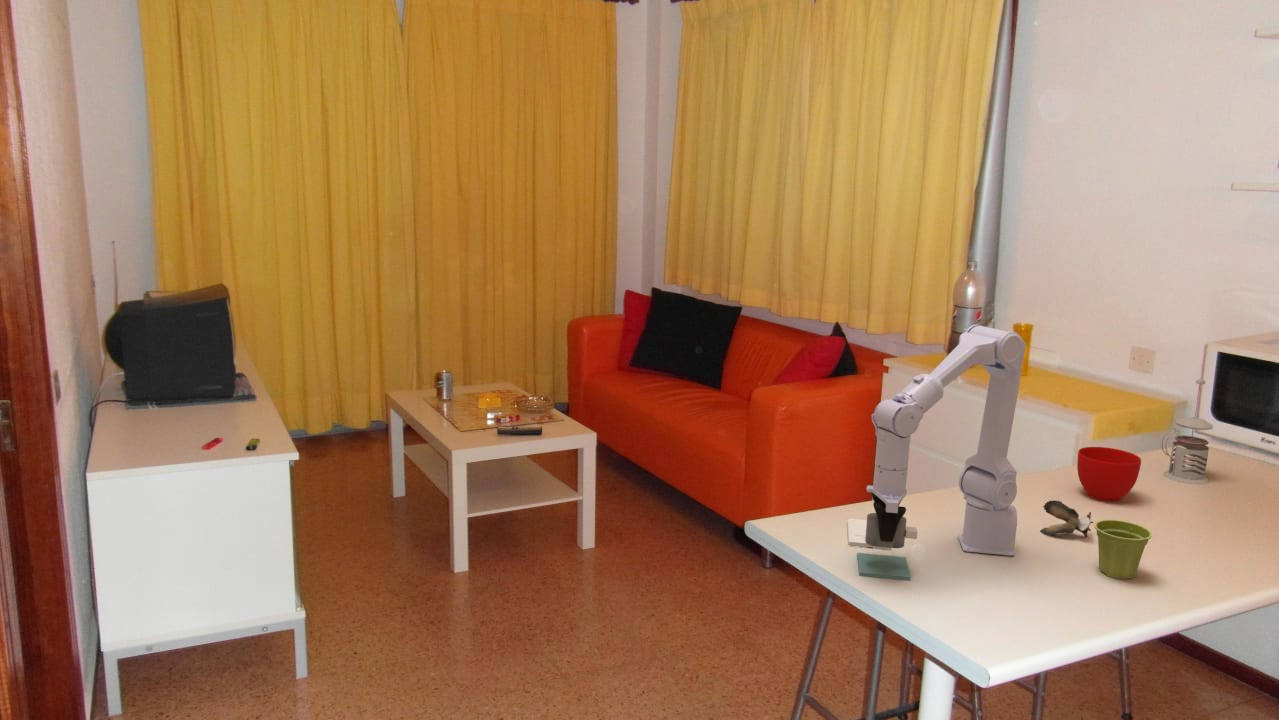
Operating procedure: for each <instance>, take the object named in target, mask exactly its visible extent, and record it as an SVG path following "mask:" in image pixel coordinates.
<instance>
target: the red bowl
mask: <svg viewBox="0 0 1279 720" xmlns="http://www.w3.org/2000/svg"><path fill="white" fill-rule="evenodd" d="M1076 464H1077V467H1076V468H1077V475H1078V479H1079V482H1080V485H1081V486H1082V487H1083V489H1084V490H1085V492H1086V493H1087V495H1088V497H1091V498H1093V499H1095V500H1098V501H1101V502H1102V501H1103V502H1118V501H1120V500H1121V499H1122V498H1123V497H1125V496H1127V494H1128V493H1130V491H1131V490H1133V488H1134V486H1135V485H1136V483H1137V479H1138V478H1139V474H1140V470H1141V465H1142V459H1141V457H1140V456H1138V455H1137V454H1134V453H1132V452H1130V451H1125V450H1122V449H1117V448H1112V447H1105V446H1085V447H1082V448H1080V449H1079V450H1078V452H1077V463H1076Z"/></svg>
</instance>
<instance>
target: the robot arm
mask: <svg viewBox="0 0 1279 720" xmlns="http://www.w3.org/2000/svg"><path fill="white" fill-rule="evenodd" d="M1026 345H1027V343H1026V342H1025V341H1024V339H1023V338H1022V337H1021V336H1020V334H1019V333H1018V332H1016V331H1008V330H1007V331H1006V330H1002V329H998V328H993V327H988V326H983V325H981V324H972V325H971V326H969V327H968V328H966V329H965V331H964V332H963V333H961V334H960V335H959V337H958V344H957V346H955V348H953V349H952V351H951V352H950V353H949V354H948V355H947V356H946V357H945V358H944V359H943V360H942V361H941V362H940V363H939V364H938V365H937V366H936V367H935V368H934V369H933V370H932V371H931V372H930V373H929V374H928V373H920V374H917V375H915V376H914V377H913V378H912V381H910V383H909V384H907V385H906V386H905V387H904V388H903V389H902V390H900V391H899V392H898V393H896V395H894V396H893V397H892V399H891V398H888V399H884V400H882V401H881V402H879V403H878V404H877V405H876V407H874V408H875V409H874V412H873V413H872V414H871V421H872V423H873V424H872V425H873V426H874V427H875V433H874V434H875V436H876V437H875V438H877V439H876V449H875V452H876V453H875V461H874V462H875V463H874V475H873V485H870V484H869V485H867V486H866V492H867V493H870V494H871V498H872V500H873V505H872V506H873V509H874V511H875V512H874V513H876V514H877V517H878V522H879V535H880V540H881V541H885V542H892V541H893V539H894V536H895V533H896V529H897V526H898V524H899V522H900V520H901V518H902V517H904V515H905V514H906V512H907V507H906V506H900V504H901V502H902V501H903V500H904V498H905V497H906V496H907V493H908V492H907V491H908V490H907V477H908V466H909V457H910V456H909V454H910V445H911V444H910V443H911V435H913V434H915V433H916V431H917V430H918V428H919V426H920V422H921V420H922V419H923V417H924V415H925V414H926V412H928V411H929V410H930V409H931V408H932V407H933V406H935V405H936V404H937V403H938V402H939V401H940V400H941V399H942V398H943V396H944V388H946V386H948V385H949V384H950V383H952V382H953V381H954V380H956V379H957V378H958V377H959V376H961V375H962V374H964V373H965V372H966V371H968V370H970V368H971V367H973V366H976V365H977V366H983V368H984V369H985V371H986V372H987V373H988V374H989V380H988V387H987V393H986V398H985V405H984V409H983V410H984V411H983V416H982V421H981V422H982V423H981V427H980V428H981V429H980V433H979V438H978V439H979V440H978V446H977V452H976V453H975V454H973V455H971V456H969V457H967V458H966V460H965V464H964V467H963V469H962V471H961V473H960V476H959V479H958V487H959V489H960V492H961V493H963V500H965V501H966V502H965V508H964V509H965V510H964V521H963V523H964V524H963V531H962V534H961V533H959V534H957V538H958V540H959V541H958V542H959V543H960V546H961V548H962V551H963V552H967V553H968V552H969V553H978V554H979V553H980V554H991V555H992V554H993V555H1000V556H1001V555H1002V556H1012V557H1013V556H1015V544H1016V535H1017V526H1018V514H1017V513H1018V511H1017V508H1016V506H1014V505H1012V504H1013V503H1014V501H1015V499H1016V497H1017V493H1018V486H1017V480H1016V479H1017V474H1018V473H1017V470H1016V468H1015V467H1014V466H1013V465H1012V463H1011V462H1010V460H1009V459H1008V451H1009V446H1010V441H1011V434H1012V429H1013V422H1014V418H1015V412H1016V407H1017V400H1018V394H1019V389H1020V382H1021V378H1022V373H1023V372H1022V371H1023V364H1024V358H1025V352H1026Z"/></svg>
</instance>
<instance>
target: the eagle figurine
mask: <svg viewBox="0 0 1279 720" xmlns="http://www.w3.org/2000/svg"><path fill="white" fill-rule="evenodd" d="M1042 507H1043V510H1045V513H1047V514H1049V515H1051V516H1053V517H1054V518H1056V519H1058V520H1061V521H1064V522H1066V523H1059V524H1053V525H1050V526H1048V527H1044V528H1041V529H1040V530H1039V533H1041V534H1043V535H1046V536H1055V535H1059V534H1067V535H1069V534H1073V533H1074V532H1075V531H1078V532H1080V533H1082V535H1083V536H1084V538H1085V539H1088V532H1089V531H1092V530H1091V528H1090V526H1091V525H1090V524H1092V523H1094V521H1091V518H1092V512H1091V511H1089V513H1087V515H1086V516H1083V517H1081V518H1080V519H1079V517H1080V515H1079V513H1078V512H1077V511H1076V509H1074V508H1071V507H1069V506H1068V505H1066V504H1065V503H1063V501H1060V500H1049V501H1046V502H1045V503H1044V505H1043V506H1042Z"/></svg>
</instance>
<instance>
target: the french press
mask: <svg viewBox="0 0 1279 720" xmlns="http://www.w3.org/2000/svg"><path fill="white" fill-rule="evenodd" d="M1195 384H1196V385H1199V386H1198V392H1197V393H1198V394H1197V400H1196V406H1195V412H1194V416H1192V417H1191V416H1186V417H1182V418H1179V419H1176V420H1174V421H1175V422H1174V423H1175V425H1177V426H1179V427H1181V428H1185V429H1192V432H1191V435H1180V432H1181V431H1180V430H1179V429H1176V427H1173V428H1170V429H1168V430H1167V431H1166V432H1165V433H1164V435H1163V436H1162V440H1161V443H1160V444H1161V450H1162V453H1164V454H1165V456H1167V457H1169V458H1170V460H1169V466H1168V469H1167V470H1166V471H1164V473H1163V476H1164V477H1165V478H1167V479H1170V480H1172V481H1175V482H1179V483H1185V484H1189V485H1206V484H1208V483H1209V481H1210V480H1209V479H1208V478H1207V477H1206V470H1207V466H1208V465H1207V462H1208V458H1209V452H1210V451H1209V450H1210V447H1209V446H1208V444H1209V443H1210V442H1209V441H1208V440H1207V439H1204V438H1201V437H1197V436H1194V430H1196V431H1197V430H1201V431H1210V430H1212V429H1213V428H1214V425H1213V424H1211V423H1210V422H1209V421H1207V420H1205V419H1203V418H1200V417H1198V416H1196V415H1197V411H1198V405H1199V398H1200V397H1199V396H1200V390H1201V385H1205V384H1206V381H1205V379H1203V378H1198V379H1196V381H1195ZM1172 430H1173V431H1172ZM1171 431H1172V432H1171ZM1169 432H1171V433H1170V434H1169V435H1168V436H1167V438H1166V441H1165V445H1164V439H1165V437H1166V435H1167V434H1168V433H1169ZM1176 432H1177V433H1176ZM1173 433H1174V434H1175V435H1176V436H1175V437H1174V440H1176V441H1174V442H1172V447H1171V452H1170V453H1171V454H1169V453H1168V448H1167V445H1168V444H1167V443H1168V440H1169V438H1170V437H1171V436H1172V435H1173ZM1164 448H1165V450H1164Z"/></svg>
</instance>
